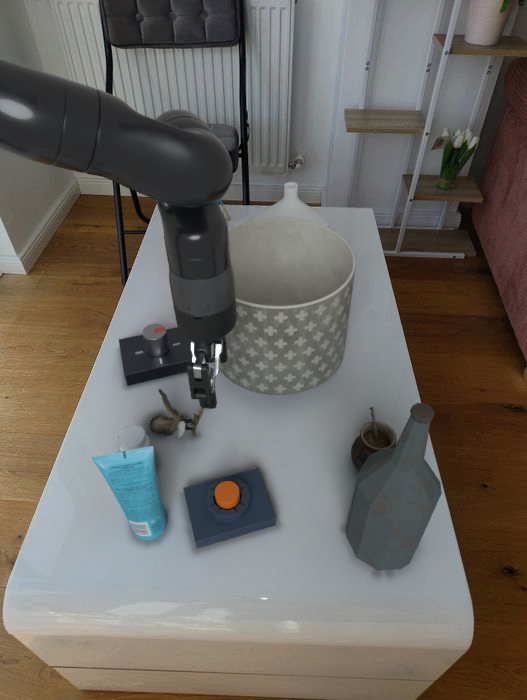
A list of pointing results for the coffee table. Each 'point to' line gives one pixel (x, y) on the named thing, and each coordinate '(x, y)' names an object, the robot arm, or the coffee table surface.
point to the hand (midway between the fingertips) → (214, 382)
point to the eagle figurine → (172, 420)
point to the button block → (233, 522)
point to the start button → (227, 494)
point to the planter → (288, 304)
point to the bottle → (394, 498)
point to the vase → (292, 208)
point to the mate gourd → (372, 440)
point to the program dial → (155, 339)
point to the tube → (135, 489)
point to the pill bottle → (133, 438)
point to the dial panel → (154, 358)
